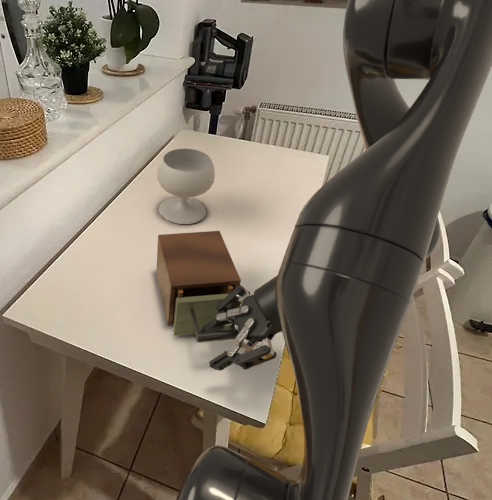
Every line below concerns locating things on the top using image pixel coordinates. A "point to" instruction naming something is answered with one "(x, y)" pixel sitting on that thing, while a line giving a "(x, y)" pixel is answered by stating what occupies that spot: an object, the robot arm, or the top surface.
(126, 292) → the top surface
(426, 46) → the robot arm
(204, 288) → the drawer
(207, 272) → the cabinet
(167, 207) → the chalice
